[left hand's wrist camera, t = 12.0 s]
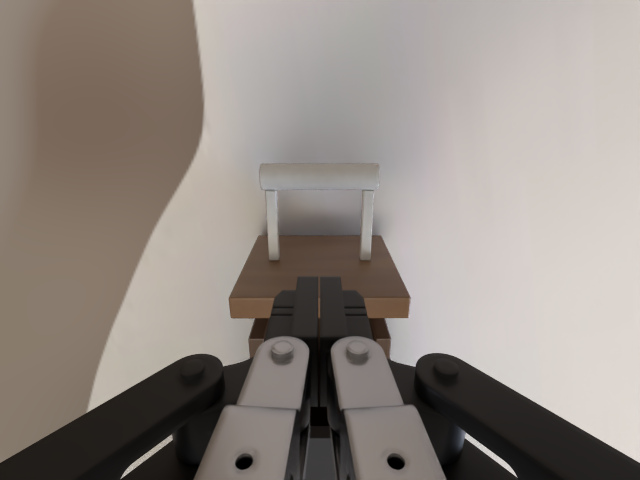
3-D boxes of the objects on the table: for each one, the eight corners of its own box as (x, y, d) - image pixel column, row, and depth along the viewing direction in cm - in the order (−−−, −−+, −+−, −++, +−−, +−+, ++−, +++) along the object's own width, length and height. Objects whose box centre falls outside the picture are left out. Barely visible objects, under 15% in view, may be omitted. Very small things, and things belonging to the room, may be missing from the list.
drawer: (252, 154, 24) (215, 180, 15) (386, 154, 24) (423, 180, 15) (270, 426, 32) (253, 539, 24) (369, 426, 32) (386, 539, 24)
